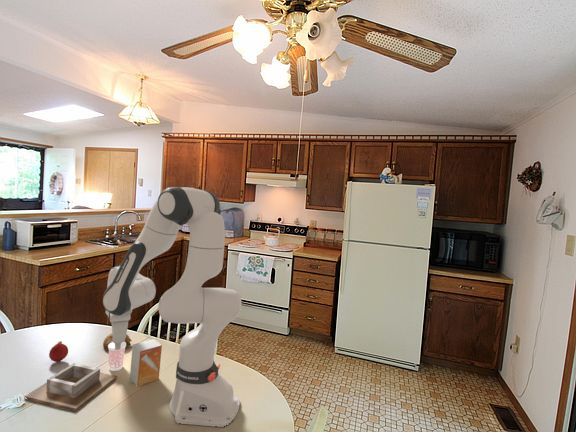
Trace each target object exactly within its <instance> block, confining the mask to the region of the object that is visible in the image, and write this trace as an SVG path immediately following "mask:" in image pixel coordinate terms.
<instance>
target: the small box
mask: <svg viewBox="0 0 576 432" xmlns="http://www.w3.org/2000/svg"><path fill="white" fill-rule="evenodd" d="M162 348H163V346H162V343H160V342H159V341H158V340H157V339H155V338H152V339H149V340H144V341H141V342H138V343H134V344H132V348H131V362H130V373H129V374H130V376H129V380H130V382H132V383H133V384H134V385H135V387H136V388H138V387H141V386H143V385H146V384H148V383H151V382H153V381H154V382H155V381H158V380H159V379H160V369H161V358H162V351H163V349H162Z"/></svg>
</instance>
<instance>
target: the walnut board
mask: <svg viewBox="0 0 576 432" xmlns="http://www.w3.org/2000/svg"><path fill="white" fill-rule="evenodd" d="M116 380H117V375H114V374H108V373H104V372H101V369H100V368H98V367H94V366H89V365H85V364H84V365H83V364H79V363H75V362H73V363H71V364H70V365H68V366H66V367H65V368H64V369H62V370H60V371H59V372H57V373H55V374H54V375H52V376H50V377H49V378H47V379H46V382H45V383H43V384H42V385H40V386H39V387H37V388H35V389H34V390H33V391H31V392H29V393H28V394H26V395H24V398H25V397H26V398H27V399H28V400H27V401H29V402H30V401H31V402H35V403H38V404H42V405H43V404H44V405H47V406H50V407H55V408H59V409H64V410H67V411H71V412H77V411H78V410H79V409H80V408H82V407H83V406H84V405H85V404H87V403H88V402H89V401H91V400H92V399H93V398H95V397H96V396H97V395H98V394H99V393H101V392H102V391H103V390H105V389H106V388H107V387H108V386H109V385H111V384H112V383H113V382H114V381H116Z"/></svg>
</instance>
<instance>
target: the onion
mask: <svg viewBox="0 0 576 432" xmlns="http://www.w3.org/2000/svg"><path fill="white" fill-rule="evenodd" d="M56 343H57V344H54V345H53V347H51V348H50V350H49V353H48V357H49V359H50V360H51V361H53V362H56V363H60V362H62V361H63V360H64V359H65V358H66V357H67V356H68V355H69V348H68V346H67V345H66V344H64V343H63V341H61V340H60V341H58V342H56Z"/></svg>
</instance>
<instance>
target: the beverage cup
mask: <svg viewBox="0 0 576 432" xmlns="http://www.w3.org/2000/svg"><path fill="white" fill-rule="evenodd" d="M125 347H126V342H122V343H121V348H120V350H115V343H113V342H111V343H110V344H109V345H108V349H109V351H108V370H109V371H112V372H115V371H120V370H121V369H122V368H123V366H124V359H125V352H126V351H125V350H126V349H125Z"/></svg>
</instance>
